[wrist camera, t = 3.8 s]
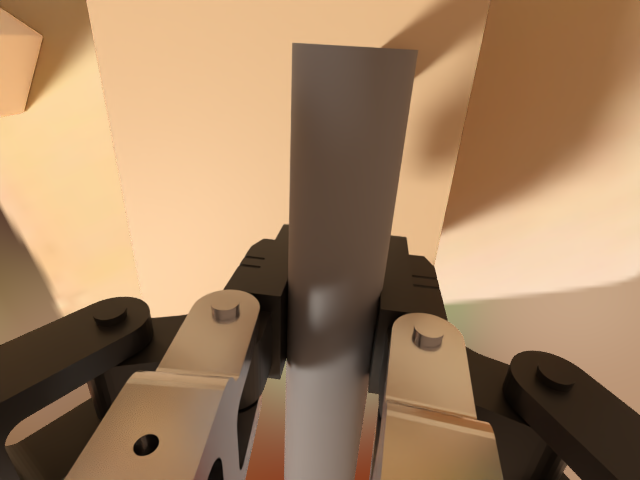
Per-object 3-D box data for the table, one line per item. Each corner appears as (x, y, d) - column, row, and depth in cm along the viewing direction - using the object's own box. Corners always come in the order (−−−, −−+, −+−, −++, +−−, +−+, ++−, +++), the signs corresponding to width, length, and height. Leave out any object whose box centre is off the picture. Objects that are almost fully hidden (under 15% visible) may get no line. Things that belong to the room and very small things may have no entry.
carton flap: (90, -46, 14) (-299, -155, 7) (498, -43, 11) (617, -234, 4) (152, 310, 21) (-2, 449, 14) (410, 370, 18) (391, 588, 11)
